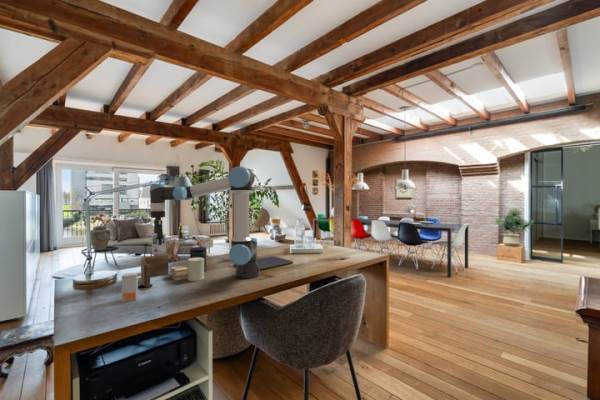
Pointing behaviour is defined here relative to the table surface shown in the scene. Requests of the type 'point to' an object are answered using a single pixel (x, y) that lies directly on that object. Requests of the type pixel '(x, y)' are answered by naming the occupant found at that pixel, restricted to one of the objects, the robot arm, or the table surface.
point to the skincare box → (129, 287)
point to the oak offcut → (179, 276)
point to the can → (195, 269)
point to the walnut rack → (153, 268)
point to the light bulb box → (154, 244)
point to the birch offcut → (179, 270)
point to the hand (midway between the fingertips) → (158, 249)
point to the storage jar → (199, 254)
